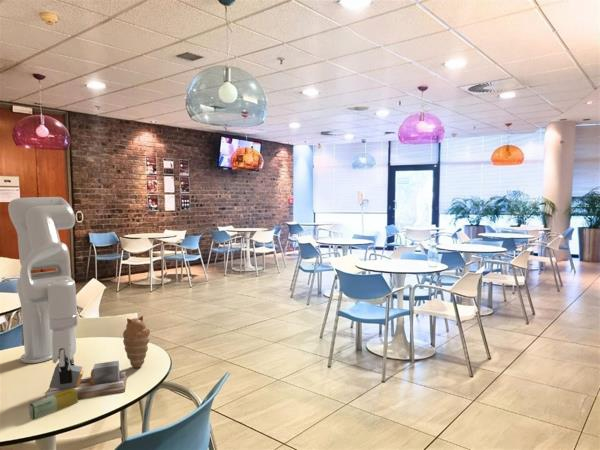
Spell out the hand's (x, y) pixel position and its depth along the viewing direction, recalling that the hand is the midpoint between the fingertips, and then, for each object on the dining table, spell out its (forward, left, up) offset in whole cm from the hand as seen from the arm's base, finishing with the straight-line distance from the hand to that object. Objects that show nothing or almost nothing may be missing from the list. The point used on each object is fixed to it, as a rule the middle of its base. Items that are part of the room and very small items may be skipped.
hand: (67, 379), depth 131 cm
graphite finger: (0, -1, -2) cm, 2 cm away
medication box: (+10, -2, -4) cm, 11 cm away
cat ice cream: (-12, +19, -4) cm, 23 cm away
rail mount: (0, +5, -4) cm, 7 cm away
